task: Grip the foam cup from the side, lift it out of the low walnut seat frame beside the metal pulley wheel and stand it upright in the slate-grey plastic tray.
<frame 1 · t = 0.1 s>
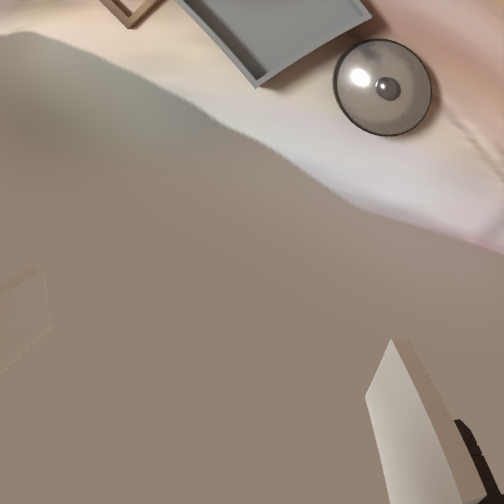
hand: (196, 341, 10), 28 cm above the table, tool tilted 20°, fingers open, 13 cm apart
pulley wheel: (380, 86, 27), on the table
tray: (270, 1, 24), on the table
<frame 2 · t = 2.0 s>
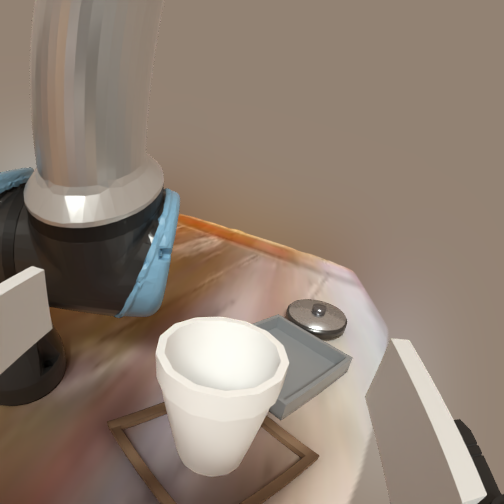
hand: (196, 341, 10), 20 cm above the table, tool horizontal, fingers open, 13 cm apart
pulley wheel: (314, 324, 52), on the table
foam cup: (210, 452, 25), resting in seat frame
tray: (277, 366, 40), on the table
seat frame: (210, 451, 25), on the table
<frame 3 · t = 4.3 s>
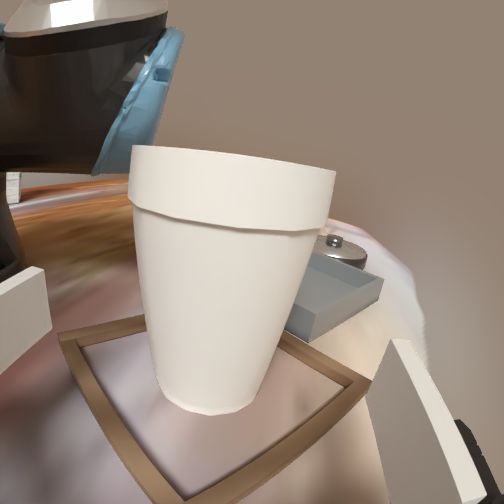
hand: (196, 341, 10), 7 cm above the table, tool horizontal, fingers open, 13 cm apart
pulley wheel: (330, 260, 45), on the table
foam cup: (208, 380, 18), resting in seat frame
tray: (293, 289, 33), on the table
syrup box: (9, 202, 52), on the table
seat frame: (208, 378, 18), on the table
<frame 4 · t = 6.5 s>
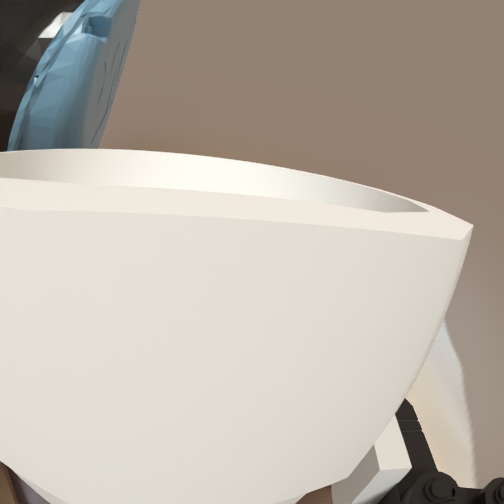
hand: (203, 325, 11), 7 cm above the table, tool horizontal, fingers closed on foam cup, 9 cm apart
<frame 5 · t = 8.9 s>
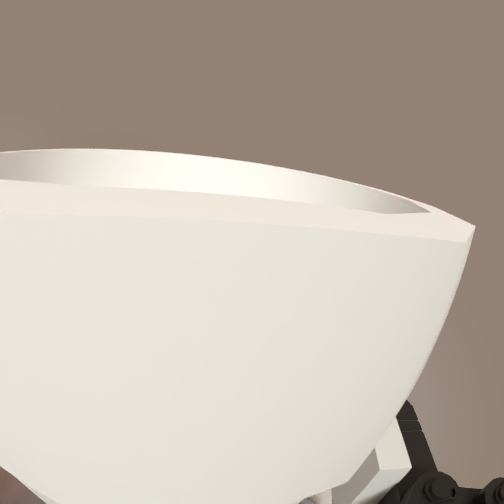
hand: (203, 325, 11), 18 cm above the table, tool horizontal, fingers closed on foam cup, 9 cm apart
when the fingers open (9 cm above the table, at t = 11.4 s): foam cup drops 1 cm, resting on tray.
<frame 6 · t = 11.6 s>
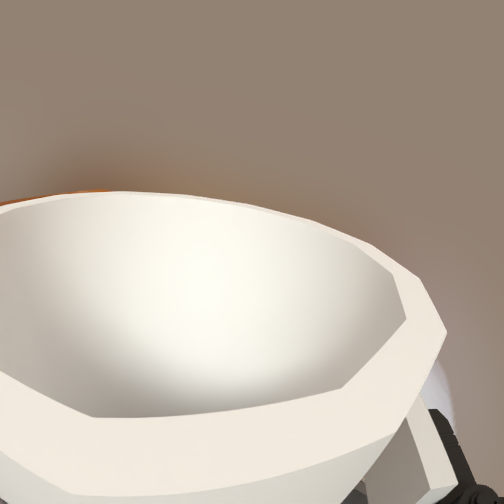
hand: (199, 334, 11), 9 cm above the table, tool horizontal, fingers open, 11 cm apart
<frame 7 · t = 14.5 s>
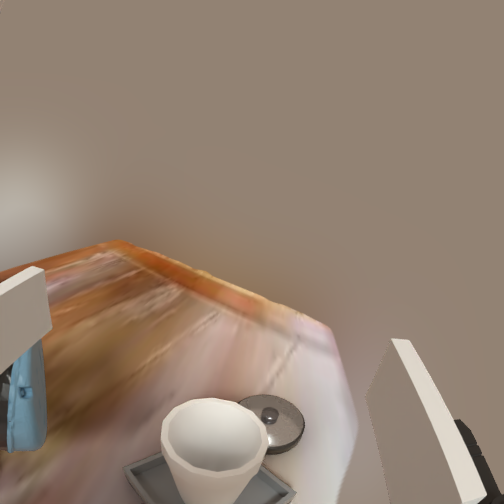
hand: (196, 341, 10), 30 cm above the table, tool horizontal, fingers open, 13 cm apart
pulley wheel: (265, 428, 40), on the table
foam cup: (207, 494, 27), resting on tray
tray: (207, 494, 28), on the table
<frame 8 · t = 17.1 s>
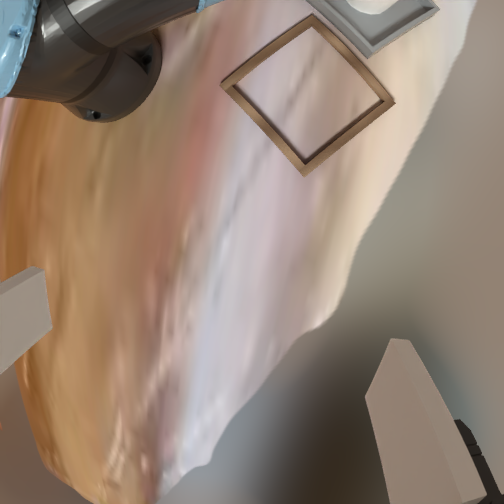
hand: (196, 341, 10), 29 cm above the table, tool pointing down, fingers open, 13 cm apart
seat frame: (309, 91, 33), on the table
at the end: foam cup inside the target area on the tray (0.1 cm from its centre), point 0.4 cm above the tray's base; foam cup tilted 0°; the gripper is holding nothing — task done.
